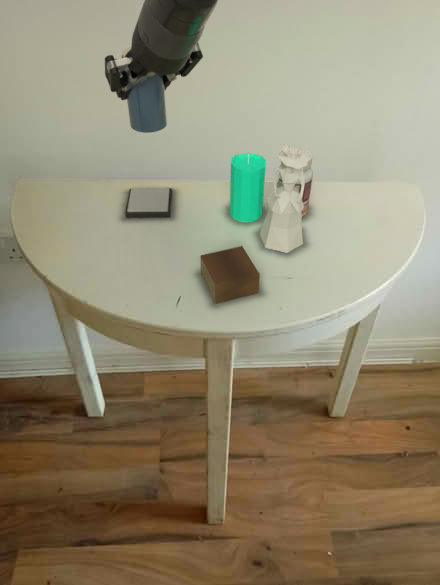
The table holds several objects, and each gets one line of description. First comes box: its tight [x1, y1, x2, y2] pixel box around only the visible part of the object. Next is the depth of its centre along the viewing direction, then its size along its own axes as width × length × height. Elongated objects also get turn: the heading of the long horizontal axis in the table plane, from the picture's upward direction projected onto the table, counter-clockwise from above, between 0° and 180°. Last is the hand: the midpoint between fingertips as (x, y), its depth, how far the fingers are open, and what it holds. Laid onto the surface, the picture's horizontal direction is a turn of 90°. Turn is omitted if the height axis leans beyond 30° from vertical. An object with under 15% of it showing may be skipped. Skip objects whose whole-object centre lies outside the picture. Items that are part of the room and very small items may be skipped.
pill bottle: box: [277, 146, 314, 217], centre depth 88 cm, size 6×6×11 cm
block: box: [199, 245, 261, 305], centre depth 77 cm, size 7×7×4 cm
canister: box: [121, 45, 168, 134], centre depth 76 cm, size 6×6×11 cm
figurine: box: [259, 143, 308, 254], centre depth 80 cm, size 7×8×18 cm
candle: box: [229, 152, 267, 223], centre depth 87 cm, size 6×6×12 cm
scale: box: [124, 187, 173, 219], centre depth 93 cm, size 8×8×1 cm
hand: (140, 89), depth 77 cm, fingers closed on canister, 6 cm apart
